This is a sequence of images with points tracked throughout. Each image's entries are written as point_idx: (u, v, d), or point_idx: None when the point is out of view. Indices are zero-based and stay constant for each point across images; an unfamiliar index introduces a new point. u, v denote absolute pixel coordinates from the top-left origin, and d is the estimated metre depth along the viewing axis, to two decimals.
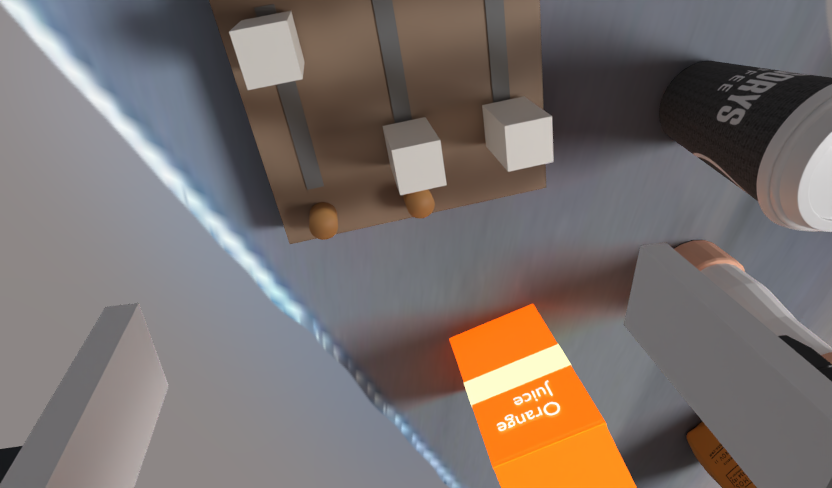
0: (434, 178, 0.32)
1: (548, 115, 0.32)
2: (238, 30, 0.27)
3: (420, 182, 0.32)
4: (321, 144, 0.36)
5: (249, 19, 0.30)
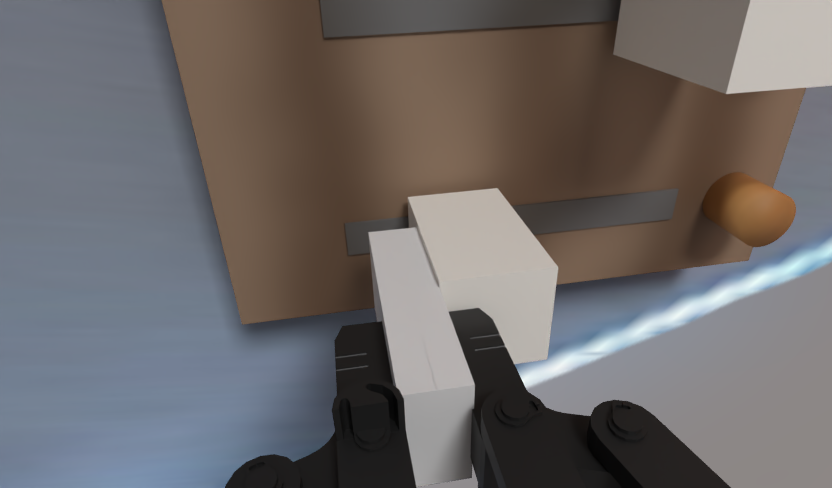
0: None
1: None
2: None
3: None
4: (601, 182, 0.18)
5: None
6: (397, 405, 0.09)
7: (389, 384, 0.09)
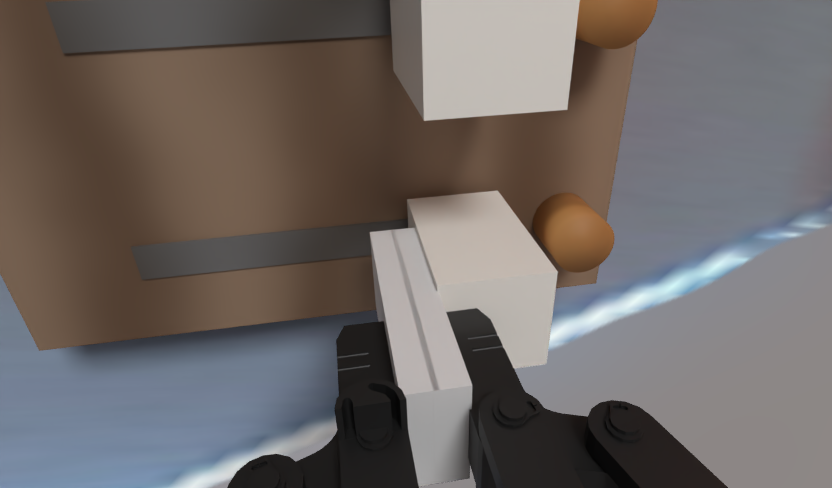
0: None
1: None
2: None
3: (547, 39, 0.10)
4: None
5: None
6: (400, 405, 0.09)
7: (392, 384, 0.09)
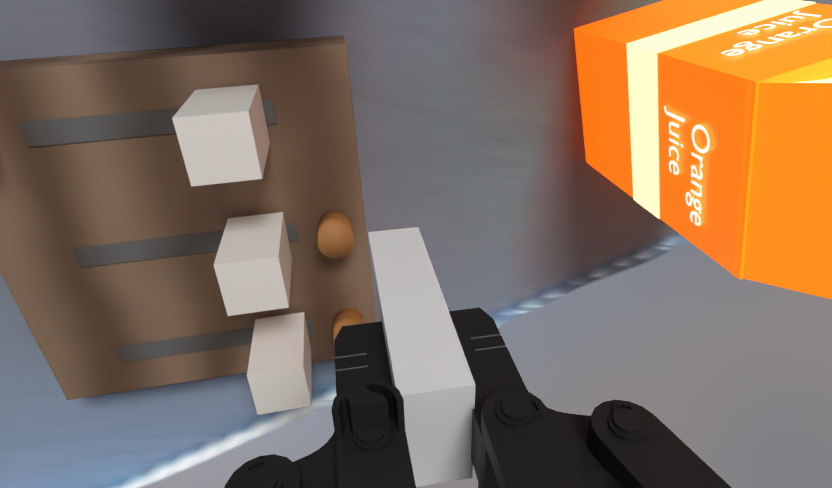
0: (267, 270, 0.25)
1: (174, 120, 0.21)
2: (256, 407, 0.29)
3: (272, 286, 0.26)
4: None
5: None
6: (396, 405, 0.09)
7: (388, 384, 0.09)
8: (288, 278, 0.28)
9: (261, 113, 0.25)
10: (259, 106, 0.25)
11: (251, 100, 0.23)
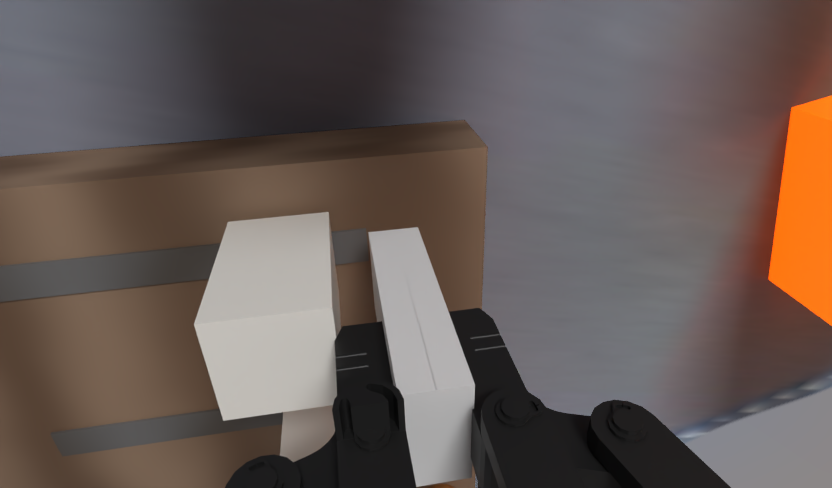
0: None
1: (197, 323, 0.12)
2: None
3: None
4: None
5: None
6: (397, 405, 0.09)
7: (389, 384, 0.09)
8: None
9: (333, 261, 0.16)
10: (332, 254, 0.15)
11: (328, 266, 0.13)
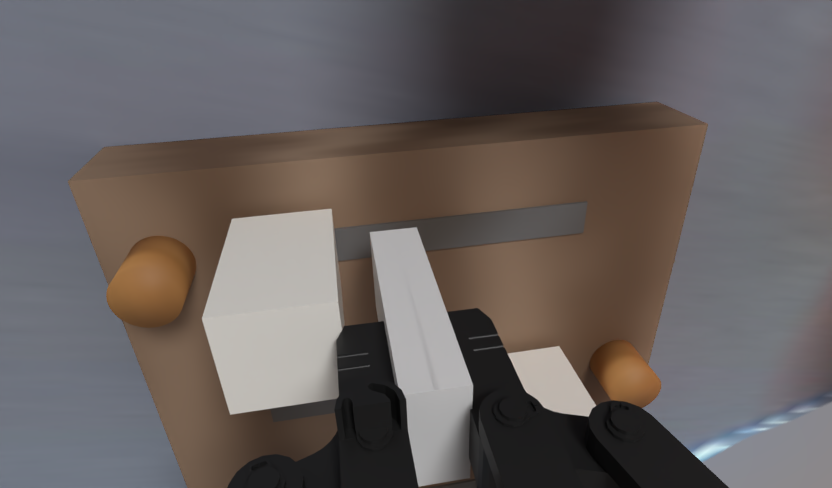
0: None
1: (205, 317, 0.12)
2: None
3: None
4: None
5: None
6: (399, 405, 0.09)
7: (391, 384, 0.09)
8: None
9: None
10: None
11: (333, 261, 0.13)
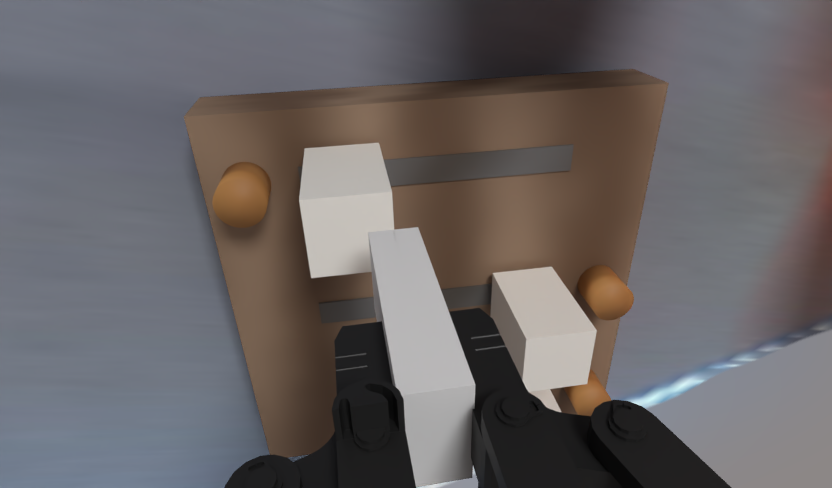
0: (580, 345, 0.22)
1: (299, 201, 0.17)
2: None
3: (578, 361, 0.22)
4: None
5: None
6: (397, 405, 0.09)
7: (389, 384, 0.09)
8: None
9: None
10: None
11: (385, 171, 0.19)
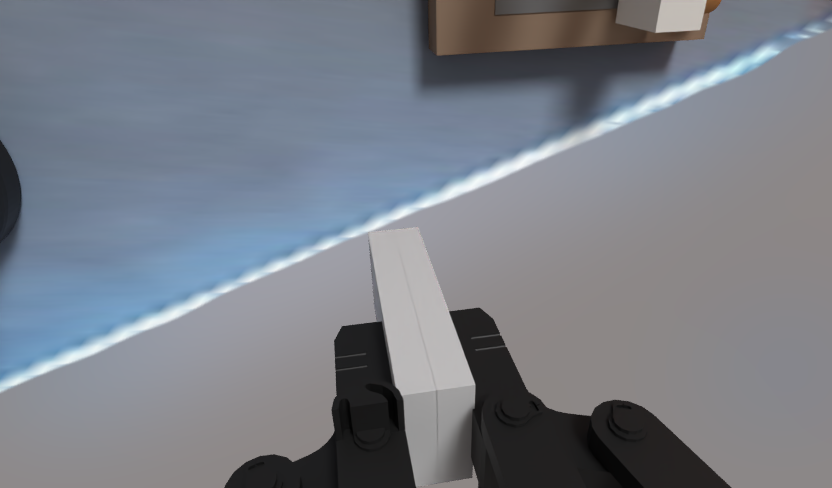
0: None
1: None
2: (656, 24, 0.32)
3: None
4: None
5: (620, 15, 0.36)
6: (396, 405, 0.09)
7: (388, 384, 0.09)
8: None
9: None
10: None
11: None
